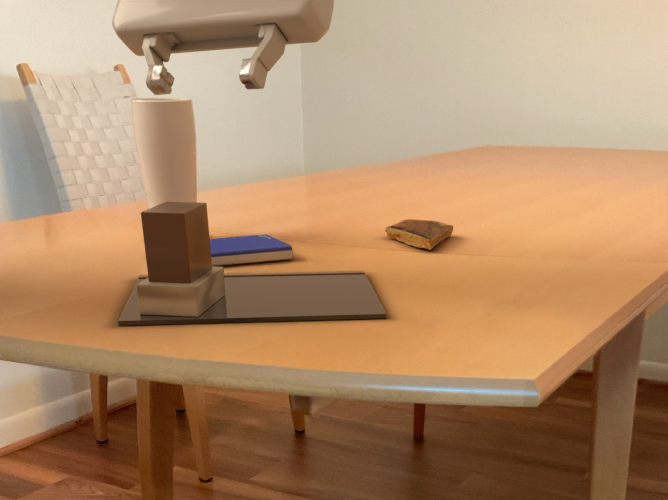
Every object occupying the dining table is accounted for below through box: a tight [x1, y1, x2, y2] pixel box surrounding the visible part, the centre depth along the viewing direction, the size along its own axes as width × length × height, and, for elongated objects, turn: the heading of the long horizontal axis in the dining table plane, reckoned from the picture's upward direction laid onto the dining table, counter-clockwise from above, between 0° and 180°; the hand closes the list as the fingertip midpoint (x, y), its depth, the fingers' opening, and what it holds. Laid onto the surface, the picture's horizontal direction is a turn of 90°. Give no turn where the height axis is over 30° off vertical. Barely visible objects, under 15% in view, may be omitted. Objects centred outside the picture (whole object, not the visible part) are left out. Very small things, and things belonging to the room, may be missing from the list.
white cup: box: [130, 97, 198, 210], centre depth 105 cm, size 7×7×15 cm
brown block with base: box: [135, 202, 225, 317], centre depth 77 cm, size 8×5×8 cm, turn 174°
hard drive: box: [210, 233, 294, 267], centre depth 99 cm, size 2×8×12 cm
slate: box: [117, 270, 388, 327], centre depth 83 cm, size 22×17×1 cm
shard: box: [384, 218, 454, 251], centre depth 108 cm, size 11×8×2 cm
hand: (203, 88), depth 78 cm, fingers open, 8 cm apart
